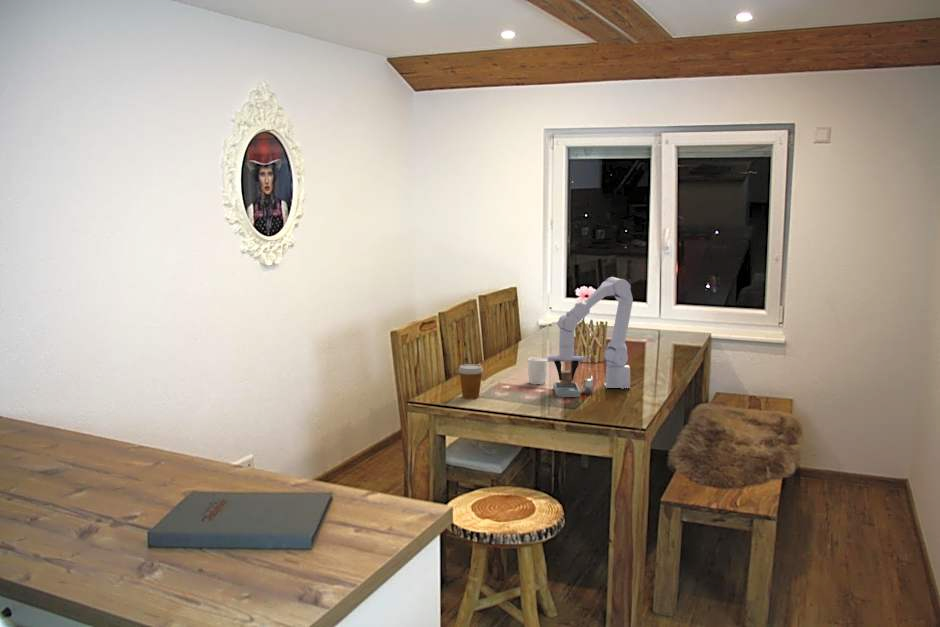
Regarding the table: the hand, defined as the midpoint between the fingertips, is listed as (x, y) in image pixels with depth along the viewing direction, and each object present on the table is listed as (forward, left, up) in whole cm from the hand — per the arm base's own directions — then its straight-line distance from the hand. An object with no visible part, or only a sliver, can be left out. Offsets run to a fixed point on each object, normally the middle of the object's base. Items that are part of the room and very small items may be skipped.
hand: (565, 379), depth 314 cm
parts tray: (0, +3, -4) cm, 6 cm away
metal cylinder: (-9, +2, -4) cm, 10 cm away
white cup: (+10, -13, -5) cm, 17 cm away
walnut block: (0, 0, -2) cm, 2 cm away
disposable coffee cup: (+37, +11, -5) cm, 40 cm away
